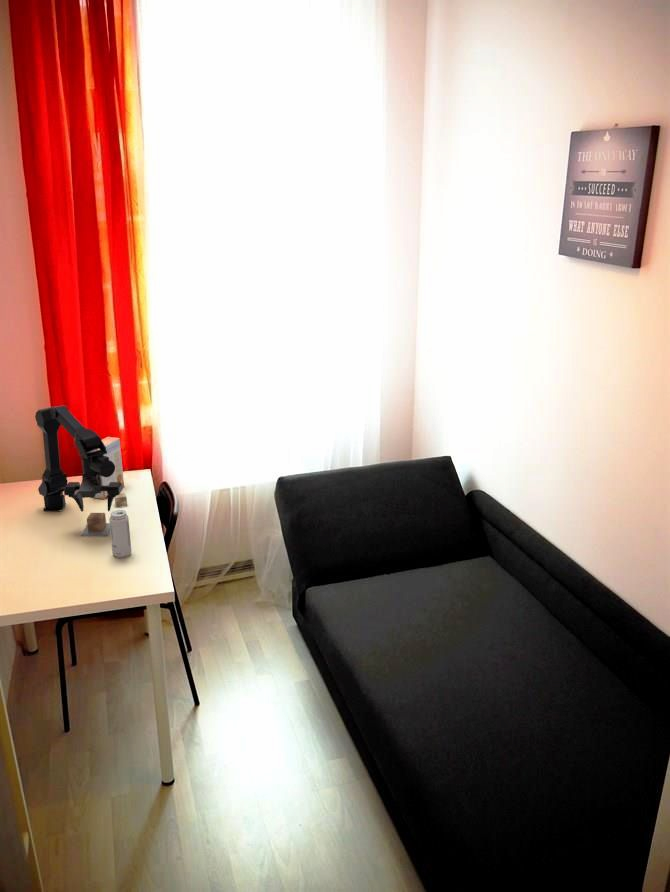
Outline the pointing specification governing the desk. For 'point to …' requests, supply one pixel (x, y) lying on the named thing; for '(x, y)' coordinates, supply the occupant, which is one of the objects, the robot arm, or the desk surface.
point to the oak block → (121, 500)
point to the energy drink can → (120, 534)
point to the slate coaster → (104, 533)
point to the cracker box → (115, 457)
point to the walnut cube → (96, 522)
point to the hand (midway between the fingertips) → (95, 511)
